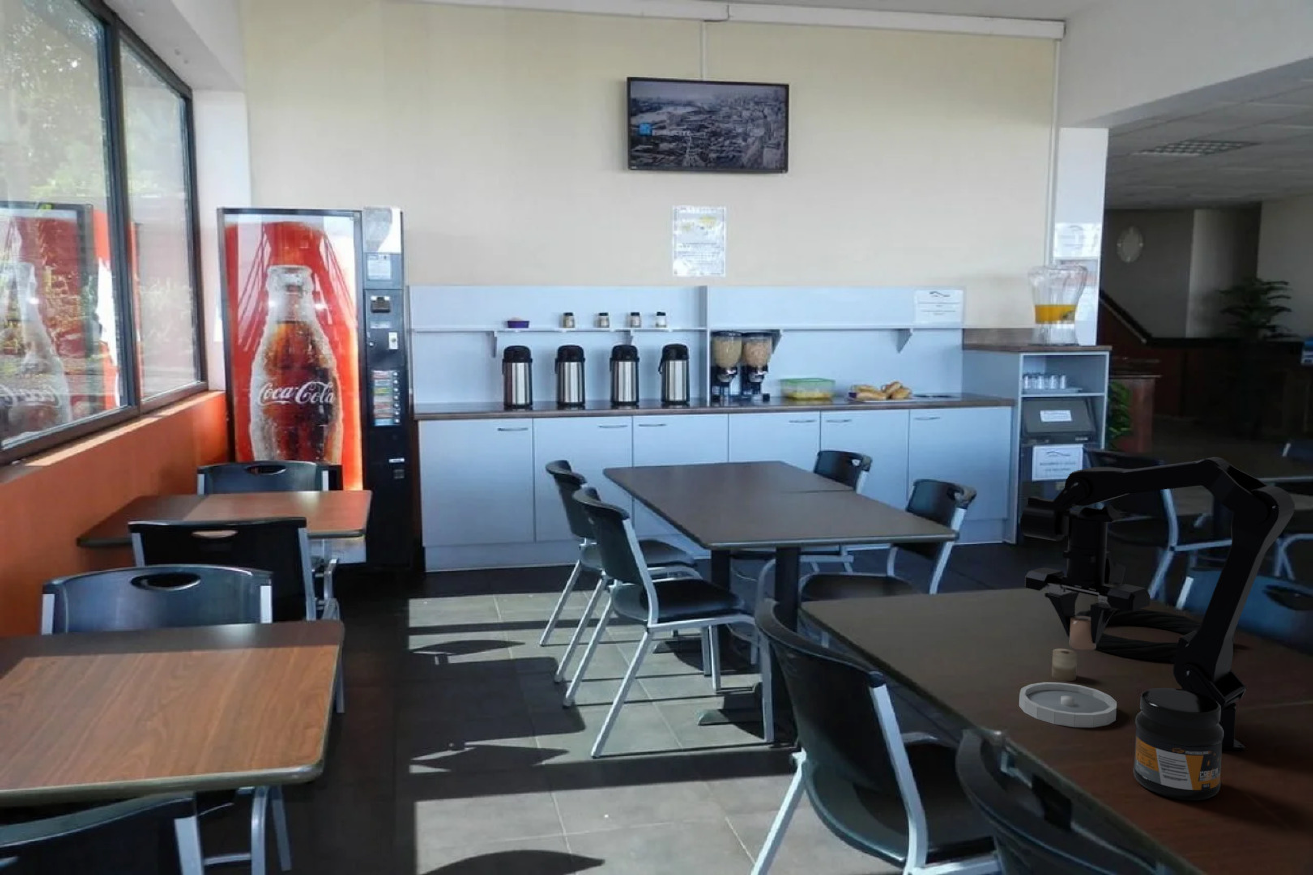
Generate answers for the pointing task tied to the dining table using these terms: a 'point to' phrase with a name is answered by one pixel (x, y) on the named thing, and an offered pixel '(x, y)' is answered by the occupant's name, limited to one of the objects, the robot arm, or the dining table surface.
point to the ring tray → (1068, 704)
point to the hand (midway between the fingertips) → (1082, 639)
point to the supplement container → (1178, 744)
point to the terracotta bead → (1081, 633)
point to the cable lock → (1139, 647)
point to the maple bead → (1064, 664)
